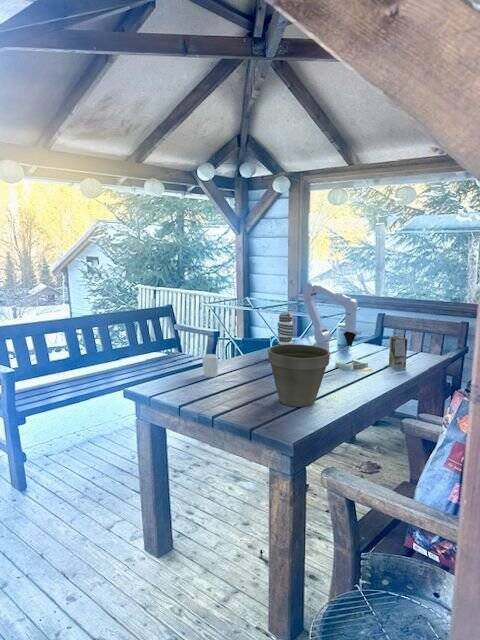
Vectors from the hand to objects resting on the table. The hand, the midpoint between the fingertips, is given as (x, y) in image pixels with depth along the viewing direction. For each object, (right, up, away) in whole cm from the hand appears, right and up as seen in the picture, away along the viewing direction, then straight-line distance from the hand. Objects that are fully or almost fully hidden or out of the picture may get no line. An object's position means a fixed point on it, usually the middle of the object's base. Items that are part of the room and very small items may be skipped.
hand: (349, 345), depth 250 cm
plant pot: (-36, -20, -62) cm, 74 cm away
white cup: (-75, -14, -23) cm, 79 cm away
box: (-1, -11, -8) cm, 14 cm away
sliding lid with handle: (+4, -13, -16) cm, 21 cm away
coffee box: (+23, -11, -9) cm, 27 cm away
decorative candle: (-34, -7, +18) cm, 39 cm away
